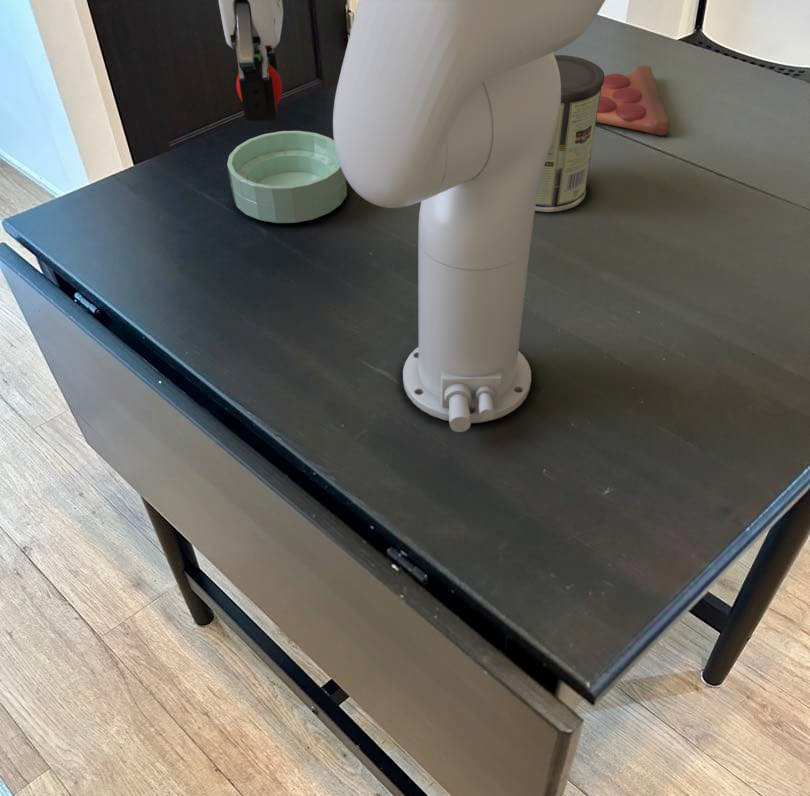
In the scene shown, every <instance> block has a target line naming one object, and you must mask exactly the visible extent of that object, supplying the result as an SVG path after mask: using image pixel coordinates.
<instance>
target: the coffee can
mask: <svg viewBox="0 0 810 796" xmlns="http://www.w3.org/2000/svg"><path fill="white" fill-rule="evenodd" d="M554 56H555V59H556V61H557V65H558V69H559V73H560V81H561V103H560V112H559V116H558V121H557V126H556V130H555V133H554V137H553V140H552V143H551V146H550V150H549V153H548V156H547V159H546V162H545V165H544V169H543V173H542V176H541V180H540V185H539V189H538V195H537V201H536V206H535V212H540V213H555V212H562V211H563V212H564V211H567V210H569V209H573V208H574V207H576V206H578V205H579V204H580V203H582V202H583V200H584V199H585V197H586V194H587V190H586V188H587V183H588V176H589V172H590V171H589V170H590V163H591V158H592V151H593V144H594V140H595V139H594V137H595V131H596V125H597V122H596V120H597V113H598V107H599V100H600V93H601V87H602V85H603V82H604V77H605V72H604V70H603V69H602V67H600V66H599V65H597V64H596V63H594V62H592V61H590V60H588V59H585V58H581V57H578V56H573V55H564V54H554Z"/></svg>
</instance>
